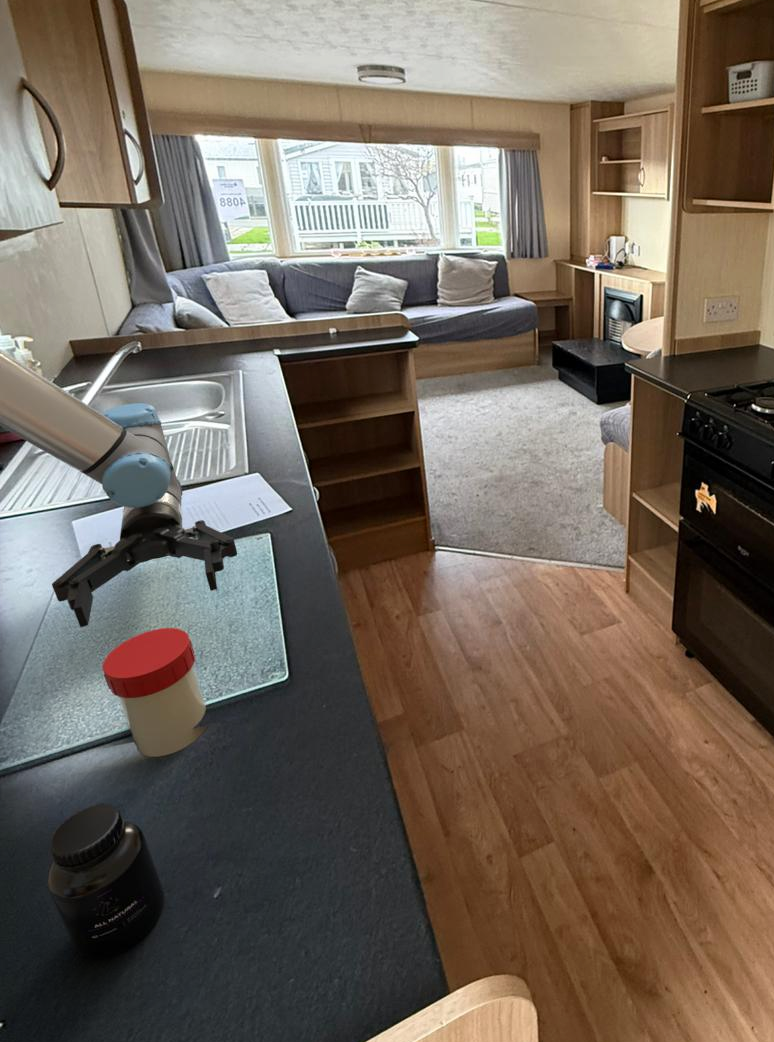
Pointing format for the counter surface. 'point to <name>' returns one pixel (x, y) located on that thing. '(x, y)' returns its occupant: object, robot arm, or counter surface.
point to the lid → (148, 663)
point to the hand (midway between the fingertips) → (148, 598)
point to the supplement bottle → (103, 881)
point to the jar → (166, 717)
